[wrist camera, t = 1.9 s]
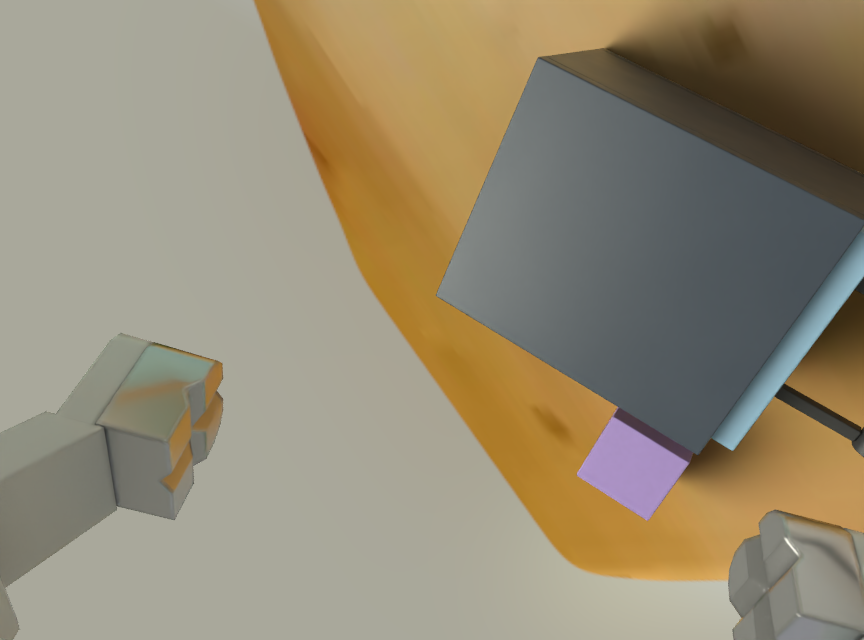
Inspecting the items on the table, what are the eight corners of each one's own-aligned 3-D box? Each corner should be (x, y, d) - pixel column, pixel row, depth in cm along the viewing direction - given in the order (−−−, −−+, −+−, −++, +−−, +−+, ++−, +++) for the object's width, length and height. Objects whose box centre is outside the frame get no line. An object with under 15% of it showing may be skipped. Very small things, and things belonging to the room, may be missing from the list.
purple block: (635, 379, 46) (613, 416, 42) (705, 421, 45) (689, 463, 41) (600, 435, 48) (576, 475, 44) (666, 476, 47) (647, 521, 43)
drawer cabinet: (864, 174, 37) (867, 221, 29) (728, 370, 43) (698, 456, 35) (603, 47, 41) (538, 56, 32) (510, 244, 47) (435, 295, 38)
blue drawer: (1006, 262, 35) (1042, 323, 28) (856, 438, 41) (856, 526, 34) (633, 79, 40) (586, 93, 33) (543, 259, 45) (486, 304, 38)
